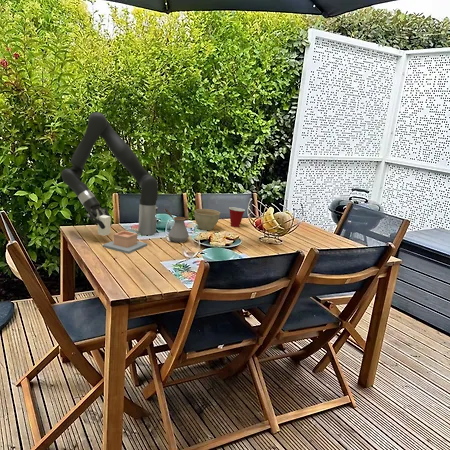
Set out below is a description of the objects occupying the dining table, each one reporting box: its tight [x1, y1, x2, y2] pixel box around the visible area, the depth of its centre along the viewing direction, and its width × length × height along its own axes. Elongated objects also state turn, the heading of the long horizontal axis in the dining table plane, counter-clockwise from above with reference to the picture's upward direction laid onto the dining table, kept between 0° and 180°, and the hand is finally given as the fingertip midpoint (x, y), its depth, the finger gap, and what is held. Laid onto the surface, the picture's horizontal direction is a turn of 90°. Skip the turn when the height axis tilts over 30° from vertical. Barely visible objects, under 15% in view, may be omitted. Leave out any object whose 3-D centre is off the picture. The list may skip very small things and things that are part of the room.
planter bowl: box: [193, 208, 221, 231], centre depth 255 cm, size 16×16×11 cm
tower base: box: [102, 230, 148, 255], centre depth 209 cm, size 16×16×7 cm
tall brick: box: [97, 215, 112, 237], centre depth 212 cm, size 4×4×10 cm
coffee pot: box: [162, 207, 190, 243], centre depth 229 cm, size 21×12×15 cm, turn 41°
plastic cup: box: [228, 206, 246, 228], centre depth 267 cm, size 11×11×12 cm
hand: (107, 226), depth 211 cm, fingers closed on tall brick, 4 cm apart
